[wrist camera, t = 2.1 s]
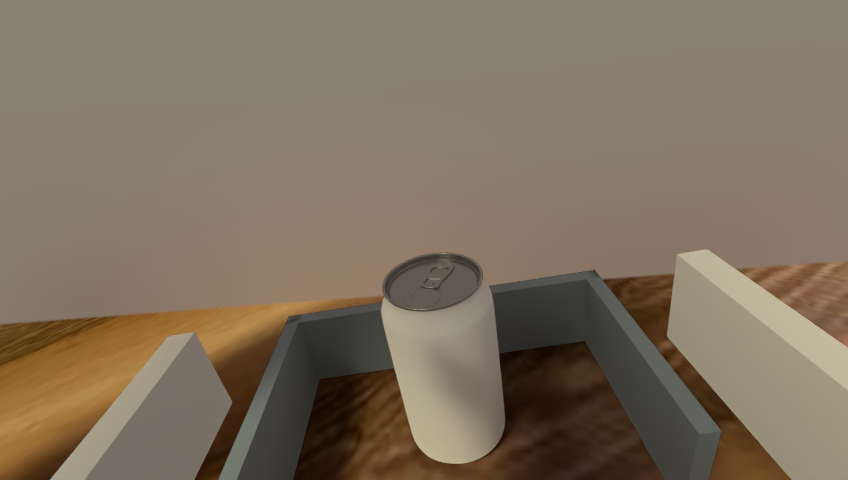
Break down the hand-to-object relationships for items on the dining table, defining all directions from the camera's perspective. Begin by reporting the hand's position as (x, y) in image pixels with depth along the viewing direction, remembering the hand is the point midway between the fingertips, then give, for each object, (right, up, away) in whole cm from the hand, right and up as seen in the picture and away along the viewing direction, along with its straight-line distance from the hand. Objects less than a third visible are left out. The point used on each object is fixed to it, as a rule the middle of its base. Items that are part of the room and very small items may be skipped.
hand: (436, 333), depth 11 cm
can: (+2, -10, +17) cm, 20 cm away
